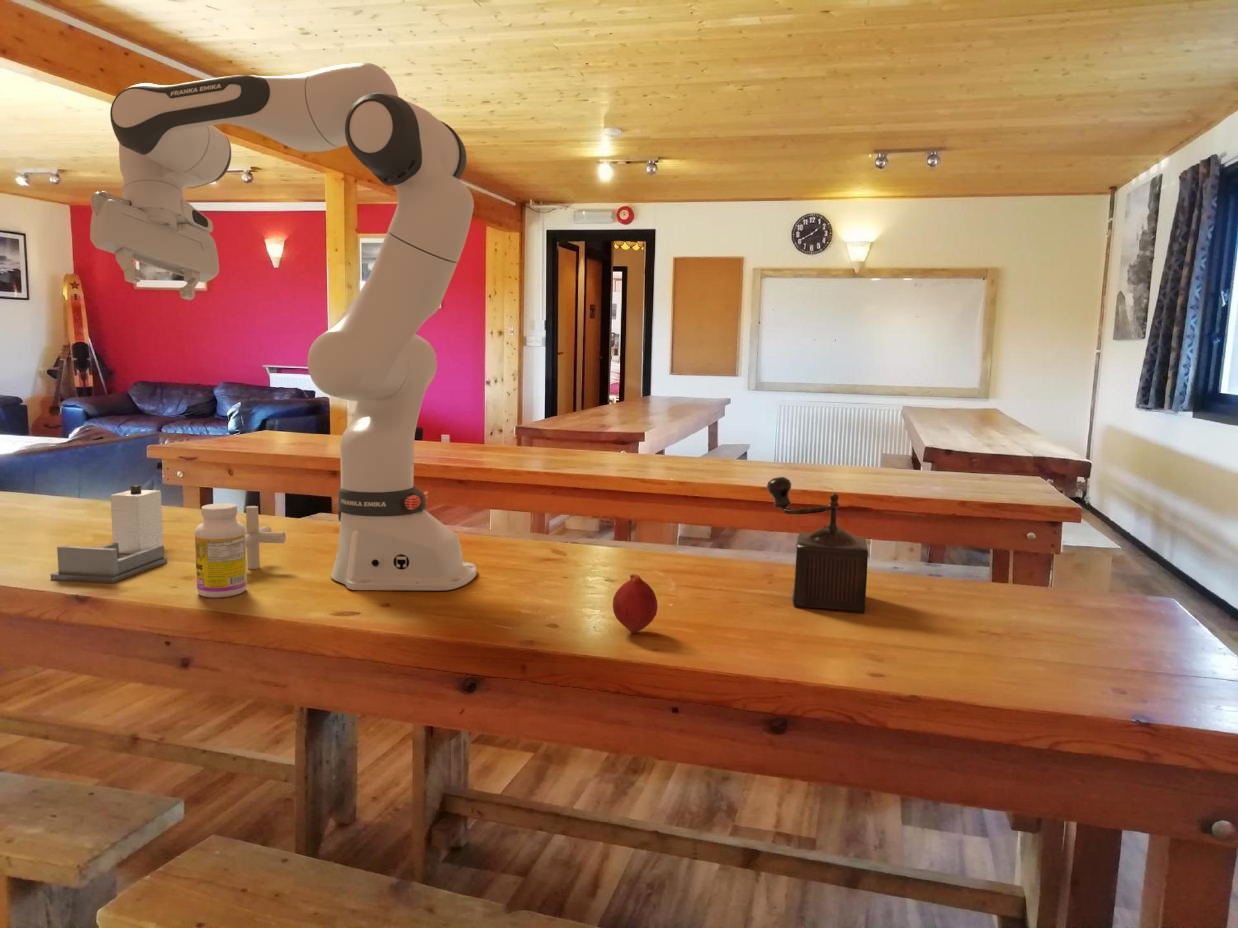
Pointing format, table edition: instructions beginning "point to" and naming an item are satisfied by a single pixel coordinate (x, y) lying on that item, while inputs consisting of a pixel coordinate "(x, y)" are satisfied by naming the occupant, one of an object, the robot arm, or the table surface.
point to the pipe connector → (258, 537)
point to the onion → (635, 604)
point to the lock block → (136, 519)
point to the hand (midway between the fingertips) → (161, 290)
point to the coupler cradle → (104, 563)
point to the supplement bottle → (220, 552)
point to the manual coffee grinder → (825, 560)
